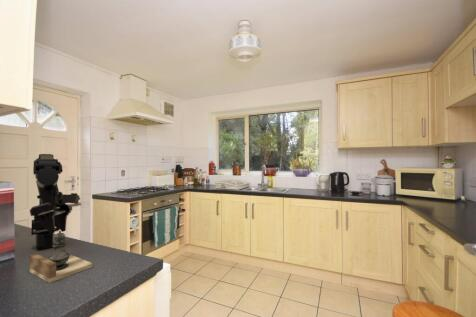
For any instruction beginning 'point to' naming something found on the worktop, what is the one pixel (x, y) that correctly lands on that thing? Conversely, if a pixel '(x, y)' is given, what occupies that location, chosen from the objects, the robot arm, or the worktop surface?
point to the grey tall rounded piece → (59, 252)
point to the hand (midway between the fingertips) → (58, 232)
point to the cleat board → (68, 270)
